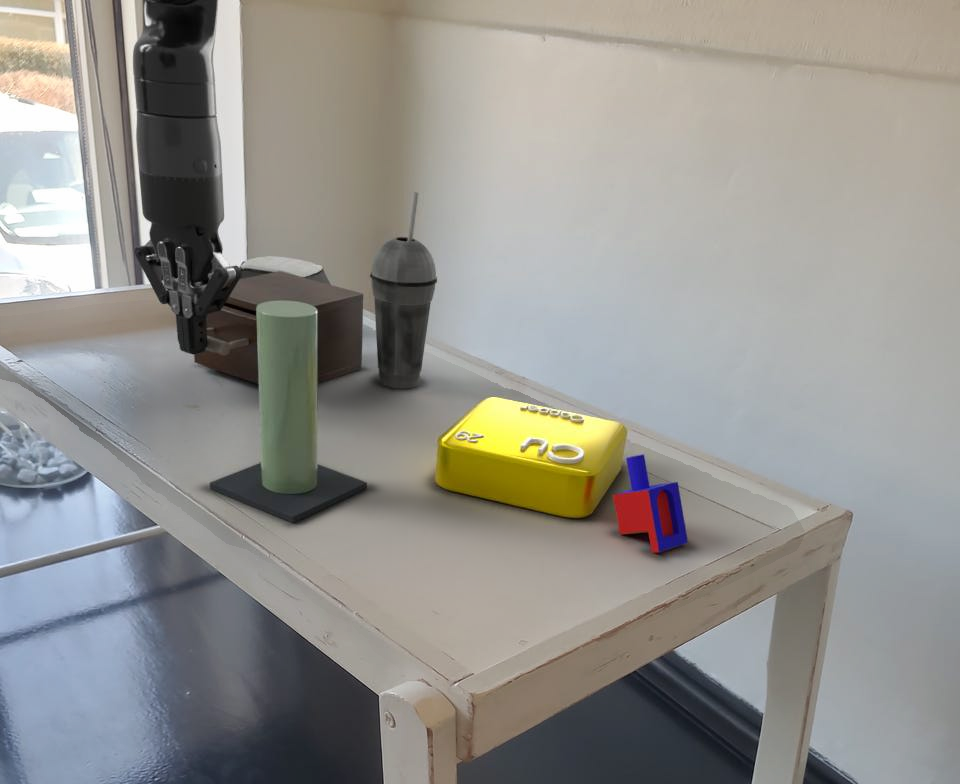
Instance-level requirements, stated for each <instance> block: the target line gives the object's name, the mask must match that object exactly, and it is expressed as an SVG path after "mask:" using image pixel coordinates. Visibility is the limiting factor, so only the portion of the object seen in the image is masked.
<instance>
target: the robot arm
mask: <svg viewBox="0 0 960 784" xmlns="http://www.w3.org/2000/svg"><path fill="white" fill-rule="evenodd" d="M218 11H219V0H142V30H141V34H140V36H139V38H138V39H137V40H136V42H135V43H134V46H133V50H132V71H133V73H132V74H133V82H134V83H133V84H134V94H135V95H134V96H135V107H136V129H135V141H136V142H135V143H136V153H137V164H138V165H137V166H138V176H139V187H140V199H141V200H140V201H141V210H142V216H143V217H144V219H145V220H146V221H147V222H149V223H151V224H150V229H149V233H148V234H149V240H148V241H147V242H146V243H145V244H143V245H140V246H136V247H135V248H134V256H135V257H136V259H137V261H138V263H139V265H140V267H141V269H142V271H143V273H144V274H145V276H146V278H147V280H148V282H149V284H150V286H151V288H152V289H153V291H154V294H155V295H156V297H157V300H158V301H159V303H160V304H161V305H168V306H169V307H170V310H171V312H172V313H173V314H174V315H175V321H176V322H175V323H176V333H177V334H176V337H177V342H178V345H179V349H180V351H181V352H183V353H187V354H189V355H192V356H194V354H197V353H201V352H204V351H205V349H206V347H207V343H208V342H207V325H206V317H207V315H208V314H210V313H214V312H218V311H221V309H222V307H223V306H224V304H225V303H226V301H227V299H228V298H229V296H230V294H231V293H232V291H233V289H234V288H235V286H236V284H237V283H238V281H239V279H240V278H241V275H242V273H241V269H240V266H238V265H230V263H229V262H228V261H227V259H226V258H225V257H224V256H223V250H224V247H223V243H222V241H221V238H220V234H219V227H220V225H221V224H222V223H223V221H224V219H225V203H224V200H225V199H224V183H223V181H224V180H223V162H222V161H223V160H222V159H223V158H222V143H221V137H220V135H221V134H220V131H219V124H218V117H217V112H218V111H217V96H216V95H217V94H216V76H215V70H214V51H215V42H216V34H217V22H218ZM196 294H197V296H196Z"/></svg>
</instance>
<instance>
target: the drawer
mask: <svg viewBox="0 0 960 784" xmlns="http://www.w3.org/2000/svg"><path fill="white" fill-rule="evenodd" d="M206 325H207V342H208V343H207V347H206V349H205V351H204V352H201V353H197V354H194V355H193V358H194V359H193V361H194V363H196V364H199V365H202V366H204V367H206V368H207V367H208V368H211V369H213V370H215V371H216V370H217V371H219V372H222V373H225V374H228V375H231V376H233V377H235V378H240V379H242V380H245V381H249V382H251V383H254V384H257V385H258V355H257V324H256V311H252V310H249V309H246V308H242V307H239V306H236V305H232V304H229V303H225V304H224V306H223V307H222V309H221V311H218V312H214V313H210V314H208V315H207V317H206Z"/></svg>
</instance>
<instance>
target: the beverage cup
mask: <svg viewBox="0 0 960 784" xmlns="http://www.w3.org/2000/svg"><path fill="white" fill-rule="evenodd" d="M418 201H419V192H416V191H413V195H412V203H411V210H410V218H409V225H408V226H409V227H408V234H407V236H398V237H394V238H392V239H389V240H388V241H386V242H385V243H383V245H381V247H380V248H379V249H378V251H377V252H376V254H375V256H374V258H373V261H372V265H371V272H370V275H369V277H370V279H371V290H372V295H373V297H374V298H373V299H374V318H375V337H376V357H377V368H378V376H379V378H378V379H379V380H378V381H379V383H380V385H383V386H385V387H388V388H393V389H413V388H416V387H418V385H419V383H420V377H421V372H422V367H423V361H424V360H423V359H424V353H425V346H426V339H427V332H428V324H429V317H430V311H431V310H430V309H431V303H432V301H433V298H434V294H435V291H436V284H437V283H438V277H437V269H436V263H435V259H434V258H433V255H432V253H431V252H430V251H429V249H428V247H426V246H425V245H424V244H423V243H422V242H420V241H419V240H417V239H415V238H414V231H415V225H416V217H417V208H418Z"/></svg>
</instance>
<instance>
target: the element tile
mask: <svg viewBox="0 0 960 784" xmlns="http://www.w3.org/2000/svg"><path fill="white" fill-rule="evenodd" d="M627 436H628V429H627V427H626V426H625V424H623V423H621V422H619V421H614V420H609V419H604V418H599V417H595V416H590V415H584V414H579V413H575V412H570V411H565V410H562V409H554V408H552V407H545V406H540V405H536V404H530V403H525V402H521V401H515V400H511V399H507V398H502V397H495V396H491V397H487V398H485V399H483V400H481V401H479V402H478V403H476V405H474V406H473V407H472V408H471V409H470V410H469V411H467V412H466V414H464V415H463V416H462V417H461V418H459V419H458V420H457V421H456V422H455V423H454V424H452V425H451V426H450V427H449V428H447V429H446V430H445V431H444V432H443V433H442V434H441V435H439V436H438V439H437V444H436V445H437V446H436V460H435V475H434V479H435V483H436V484H437V485H438V486H439V487H440V488H443V489H444V490H447V491H449V492H454V493H459V494H463V495H467V496H470V497H471V496H472V497H476V498H480V499H485V500H489V501H492V502H497V503H502V504H505V505H509V506H510V505H511V506H515V507H518V508H524V509H528V510H532V511H535V512H541V513H544V514H549V515H554V516H558V517H561V518H562V517H563V518H568V519H583V518H586V517H588V516H590V515H591V514H593V512H595V510H596V509H597V506H598V505H599V504H600V502H601V500H602V499H603V497H604V496H605V494H606V493H607V492H608V490H609V489H610V487H611V485H612V484H613V482H614V481H615V479H616V477H617V476H618V474H619V473H620V472H621V470H622V466H623V461H624V460H623V459H624V455H625V448H626V443H627Z"/></svg>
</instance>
